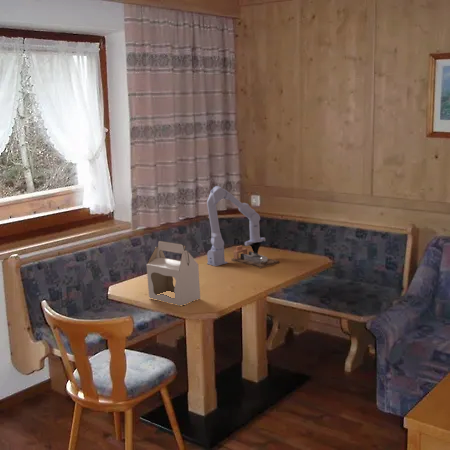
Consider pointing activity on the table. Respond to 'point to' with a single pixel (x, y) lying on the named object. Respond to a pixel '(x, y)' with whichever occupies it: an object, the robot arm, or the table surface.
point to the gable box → (173, 275)
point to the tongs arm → (255, 254)
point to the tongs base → (254, 259)
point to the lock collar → (238, 250)
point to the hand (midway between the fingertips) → (255, 255)
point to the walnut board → (269, 262)
